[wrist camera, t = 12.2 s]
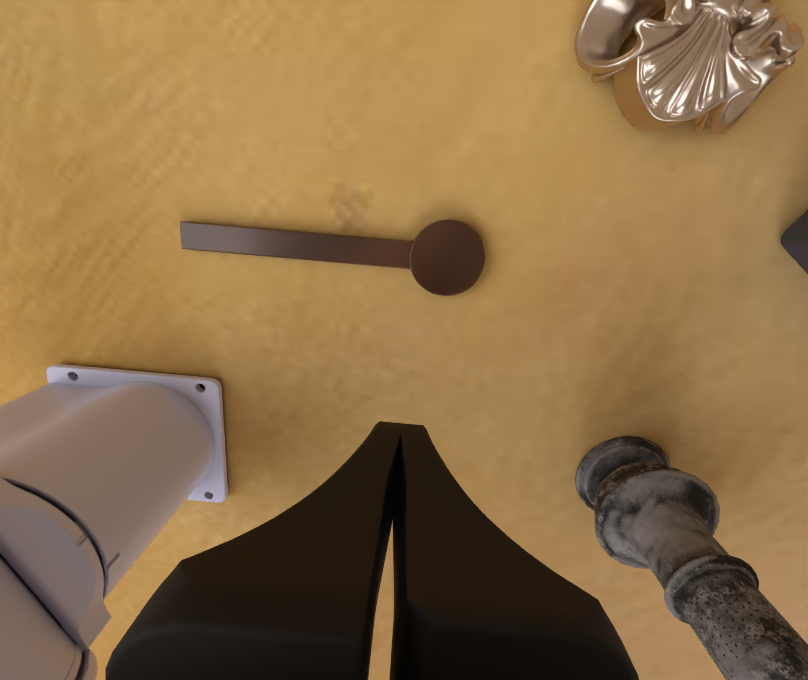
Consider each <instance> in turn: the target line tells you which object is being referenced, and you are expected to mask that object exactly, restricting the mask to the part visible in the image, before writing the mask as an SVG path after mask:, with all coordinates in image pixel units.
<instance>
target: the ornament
mask: <svg viewBox="0 0 808 680" xmlns="http://www.w3.org/2000/svg"><path fill="white" fill-rule="evenodd" d="M769 1H771V0H592V1H591V3H590V5H589V6H588V8H587V10H586V12H585V14H584V16H583V18H582V20H581V22H580V25H579V28H578V31H577V35H576V40H575V52H576V58H577V61H578V63H579V65H580V66H581V67H582V68H583V69H584V70H586V71H587V72H590V73H594V74H593V75H592V82H593V83H598V82H600V81H602V80H604V79H606V78H608V77H611V76H613V75H614V93H615V98H616V102H617V104H618V107H619V108H620V110H621V112H622V114H623V115H624V117H625V118H626V119H627V120H628V122H629V123H630V124H631V125H632V126H634V127H636V128H638V129H641V130H660V129H665V128H668V127H671V126H674V125H677V124H680V123H683V122H686V121H689V120H692V119H693V131H694V133H700V132H701V131H702V130H703V129H704V127H705V125H706V124H708V125H710V132H711V133H712V134H721V133H723V132H725V131H727V130H728V129H729V128H730V127H731V126H733V125H734V124H735V123H736V122H737V121H738V119H739V118H740V117H741V116H742V115H743V114H744V112H745V111H746V110H747V109H748V108H749V107H750V105H751V104H752V103H753V102H754V100H755V99H756V98H757V97H758V95H759V94H760V93H761V92H762V90H763V89H764V88H765V87H766V86H767V85H768V83H770V82H771V81H772V80H773V79H774V78H775V77H776V76H777V75H778V74H779V73H781V72H782V71H783V70H785V69H786V68H788V67H790V66H791V65H792V64H793V63H794V61H795V58H794V57H793V55H794V54H795V53H796V52H797V51H798V50H800V48H801V47H802V46H803V44H804V37H803V33H802V29H801V27H800V26H799V25H797V24H795V23H792V24H787V17H786V14H781V15H779V16H777V17H775V18H773V16H774V15H775V13H776V11H777V8H778V6H777V4H772V3H768V2H769ZM664 6H666V8H665V16H664V19H663V20H662V21H656V20H653V19H650V17H651V16H652V15H654V14H655V13H656V12H658V11H659V10H660V9H662V8H663V7H664ZM633 31H635V34H636V35H637V42H636V44H635V46H634V47H633V48H632V49H631V50H630V51H629V52H628V53H626V54H625V55H623V56H621V57H618V53H619V49H620V47H621V45H622V43H623V42H624V41H625V39H626V38H627V37H628V36H629V35H630V34H631V33H632V32H633Z"/></svg>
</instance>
